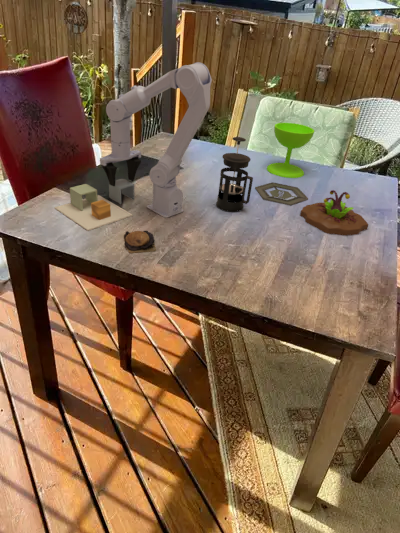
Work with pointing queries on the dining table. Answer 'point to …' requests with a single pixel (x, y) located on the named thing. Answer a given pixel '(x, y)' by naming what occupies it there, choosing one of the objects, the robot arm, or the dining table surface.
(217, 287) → the dining table surface
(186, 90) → the robot arm
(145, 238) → the wood slice
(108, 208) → the orange block
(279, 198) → the hexagonal trivet
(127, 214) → the mat
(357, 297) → the dining table surface
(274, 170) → the wineglass
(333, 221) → the plant
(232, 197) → the french press
